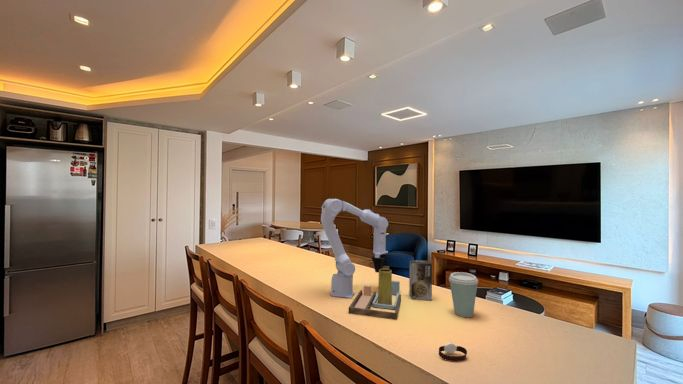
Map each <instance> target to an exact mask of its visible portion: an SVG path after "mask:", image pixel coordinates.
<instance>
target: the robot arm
mask: <svg viewBox="0 0 683 384" xmlns="http://www.w3.org/2000/svg"><path fill="white" fill-rule="evenodd" d="M341 212H348V213H350V214H352V215H355V216H356V217H359V219H360V221H361V222H364V223H365V224H368V225H370V226H372V227H373V247H372V248H373V249H372V253H373V254H374V256H371V260H372V262H373V266H374V271H375V273H377V274H379V270H380V269H384V268H383V267H384V262H385V258H386V257H387V254H388V253H389V251H388V250H387V249H386V245H387V244H386V242H387V241H386V239H387V238H386V236H387V228H388V226H389V222H388V219H387V218H386V217H385V216H380V214H379V213H375V212H373V211H372V209H363V210H362V209H361V208H358V207H357V206H354V205H353V204H351V203H349V202H346V201H344V200H340V199H338V198H328V199H326V200H324V202H323V204H322V205H321V214H320V223H321V226H322V228H323V231H324V233H325V235H326V237H327V241H328V243H329V245H330V247H331V250H332V251H333V255H334V262H335V268H336V270H337V272H336V273H333V274H332V277H331V285H330V296H332V297H338V298H346V299H351V298H353V296H354V295H355V293H356V292H355V291H354V290H353V287H354V286H353V283H354V277H353V276H354V273H355V271H356V266H355V264H354V263H353V262H352V260H351V259H350V257H349V256H348V254H347V253H346V251H345V248H344V245H343V243H342V240H341V238H340V235H339V233H338V230H337V228H336V226H335V222H334V221H335V218H336V217H337V215H339V214H340V213H341Z"/></svg>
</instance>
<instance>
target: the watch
mask: <svg viewBox="0 0 683 384" xmlns="http://www.w3.org/2000/svg"><path fill="white" fill-rule="evenodd" d="M443 352H445V353H447V354H445V353H443ZM455 352H460V353H462V354H464V355H448V354H453V353H455ZM467 353H468V351H467V349H466V348H465V347H463V346H460V345H456V344H455V343H453V342H448V343H446V344H445V345H442V346H439V348H438V355H439V357H440V358H441V359H442V360H445V359H446V360H445V361H449V360H450V362H461V361H465V360H466V359H467Z"/></svg>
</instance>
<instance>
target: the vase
mask: <svg viewBox="0 0 683 384" xmlns="http://www.w3.org/2000/svg"><path fill="white" fill-rule="evenodd" d="M392 275H393V273H392V269H389V268H382V269H380V270H379V273H378V290H377V293H378V299H377V301H376V303H378V304H386V305H393V294H392V281H393V279H392V278H393V277H392Z"/></svg>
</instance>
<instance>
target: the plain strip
mask: <svg viewBox="0 0 683 384" xmlns="http://www.w3.org/2000/svg"><path fill="white" fill-rule="evenodd" d="M372 295H373V294H372V285H367V284H364V286H363V293H362V296H361V297H360V299H359V300H358V302H357V304H356V305H355V307H356V308H363V309H365V308H366V306H367V304H368V303H369V301H370V299H371V297H372Z"/></svg>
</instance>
